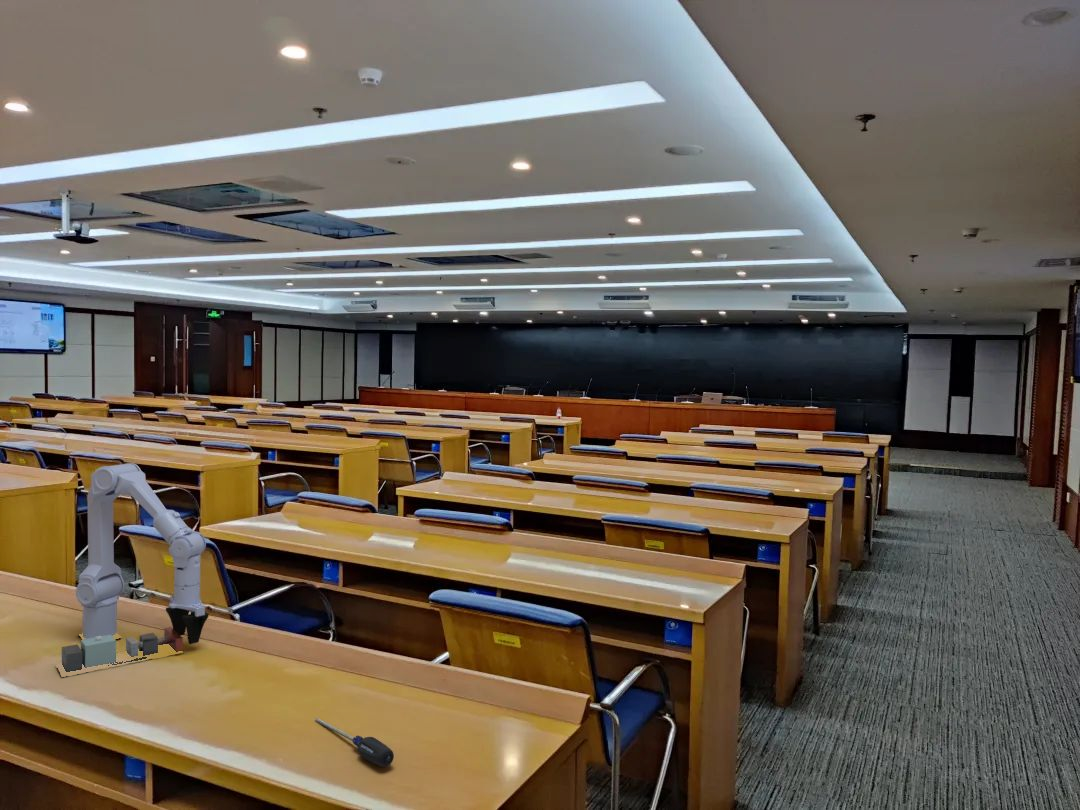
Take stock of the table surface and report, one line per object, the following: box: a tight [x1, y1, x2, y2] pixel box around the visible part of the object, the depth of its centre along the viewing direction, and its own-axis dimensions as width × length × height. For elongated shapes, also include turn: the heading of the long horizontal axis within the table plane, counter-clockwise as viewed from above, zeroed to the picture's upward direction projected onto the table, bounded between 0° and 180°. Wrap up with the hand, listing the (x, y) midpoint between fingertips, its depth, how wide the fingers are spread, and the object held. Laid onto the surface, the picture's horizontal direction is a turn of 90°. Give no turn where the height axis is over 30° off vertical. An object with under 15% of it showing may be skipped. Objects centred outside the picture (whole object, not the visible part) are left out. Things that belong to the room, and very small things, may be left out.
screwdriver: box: [314, 717, 395, 768], centre depth 135 cm, size 26×4×4 cm, turn 43°
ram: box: [125, 626, 184, 657], centre depth 177 cm, size 10×10×3 cm
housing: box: [80, 635, 117, 668], centre depth 170 cm, size 5×6×6 cm
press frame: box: [61, 632, 159, 672], centre depth 173 cm, size 8×25×5 cm, turn 131°
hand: (186, 639), depth 182 cm, fingers open, 7 cm apart
